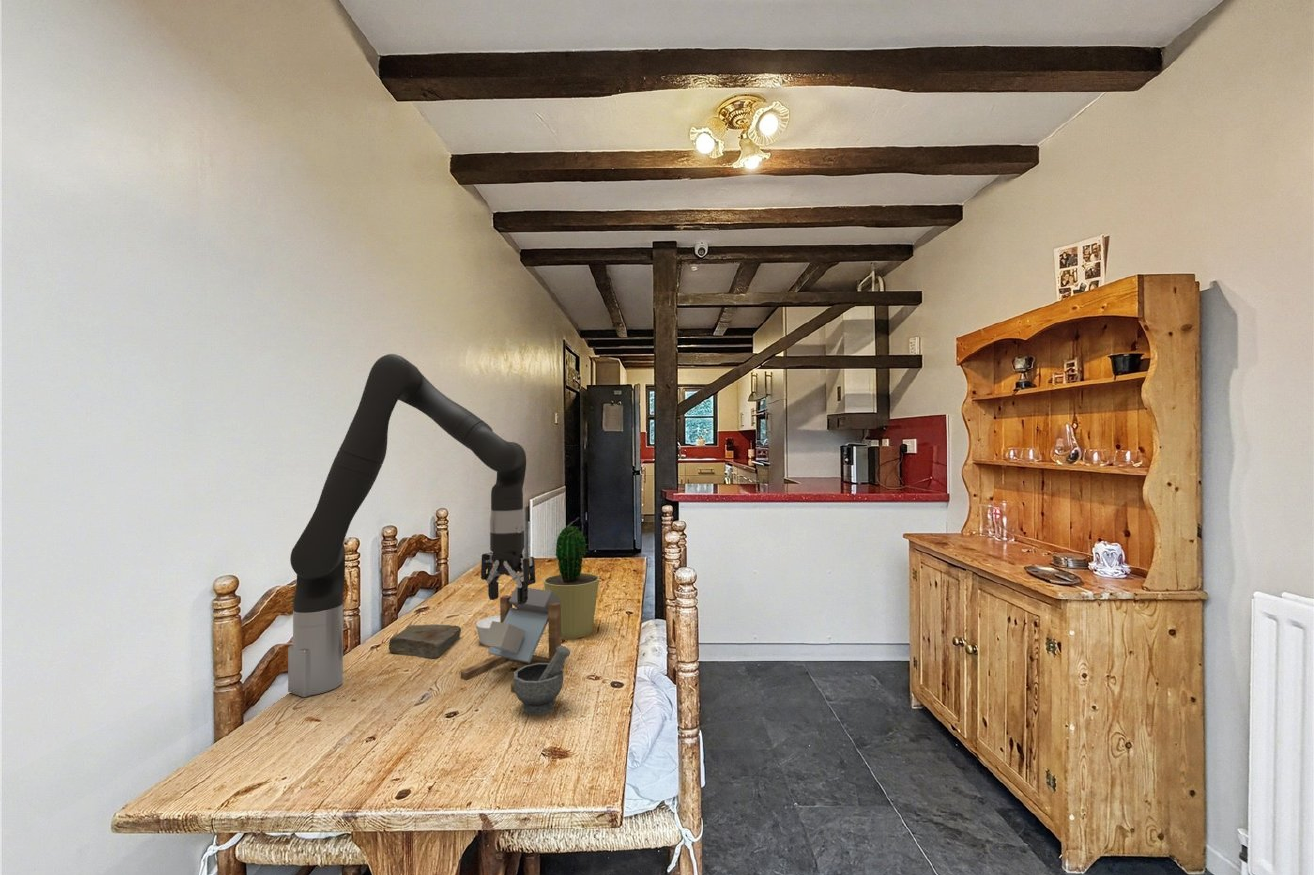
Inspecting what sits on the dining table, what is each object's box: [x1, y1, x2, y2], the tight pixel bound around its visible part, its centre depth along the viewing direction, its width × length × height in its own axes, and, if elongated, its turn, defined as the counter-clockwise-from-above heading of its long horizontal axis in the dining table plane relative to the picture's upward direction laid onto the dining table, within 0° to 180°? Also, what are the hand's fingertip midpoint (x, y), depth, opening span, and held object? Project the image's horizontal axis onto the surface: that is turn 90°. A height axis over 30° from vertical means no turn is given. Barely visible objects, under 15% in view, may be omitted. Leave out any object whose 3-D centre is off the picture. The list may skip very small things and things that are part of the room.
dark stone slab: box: [388, 623, 462, 659], centre depth 140 cm, size 17×15×4 cm
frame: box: [460, 594, 565, 693], centre depth 122 cm, size 15×17×15 cm
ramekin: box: [475, 614, 500, 647], centre depth 144 cm, size 11×11×5 cm
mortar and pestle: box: [513, 644, 571, 716], centre depth 105 cm, size 11×9×12 cm
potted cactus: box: [543, 525, 600, 640], centre depth 150 cm, size 15×15×30 cm
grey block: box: [484, 621, 525, 654], centre depth 120 cm, size 5×5×6 cm
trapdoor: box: [487, 585, 562, 663], centre depth 126 cm, size 16×12×5 cm
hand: (507, 601), depth 121 cm, fingers open, 8 cm apart
